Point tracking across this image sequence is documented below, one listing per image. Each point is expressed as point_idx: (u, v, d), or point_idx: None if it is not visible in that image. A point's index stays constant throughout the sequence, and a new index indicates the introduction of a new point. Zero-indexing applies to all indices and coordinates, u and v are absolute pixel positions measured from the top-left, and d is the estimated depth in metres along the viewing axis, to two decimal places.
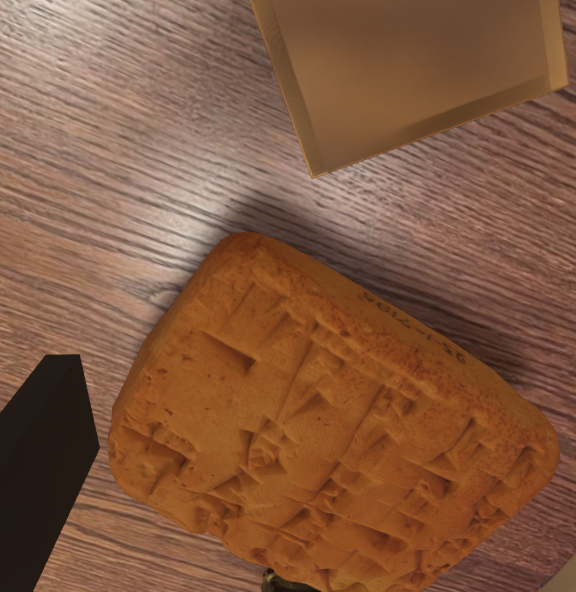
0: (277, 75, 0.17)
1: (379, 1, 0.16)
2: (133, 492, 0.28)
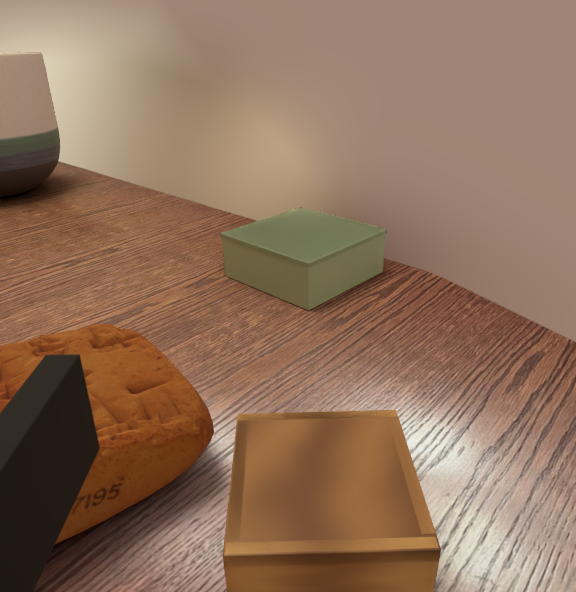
0: (301, 412, 0.29)
1: (322, 459, 0.26)
2: (95, 325, 0.43)
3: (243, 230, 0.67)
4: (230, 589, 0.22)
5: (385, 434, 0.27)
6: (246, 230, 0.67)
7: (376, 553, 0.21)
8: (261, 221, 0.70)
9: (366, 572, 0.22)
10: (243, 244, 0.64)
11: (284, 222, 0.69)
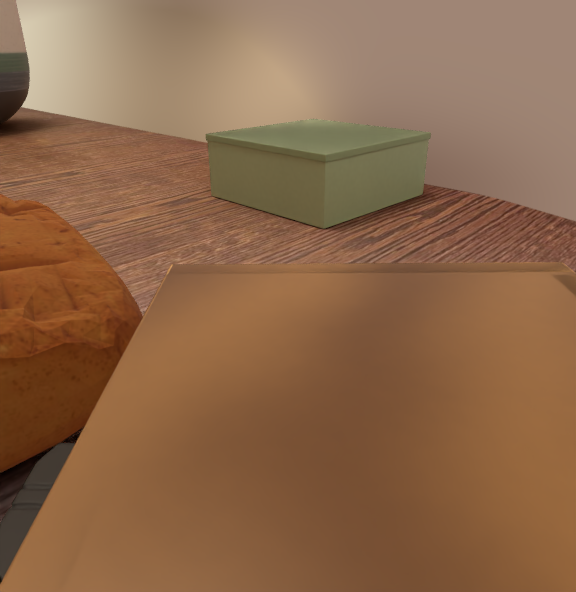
0: None
1: (398, 349, 0.08)
2: None
3: (236, 132, 0.50)
4: None
5: (562, 301, 0.10)
6: (240, 132, 0.50)
7: None
8: (261, 126, 0.53)
9: None
10: (235, 145, 0.47)
11: (292, 127, 0.52)
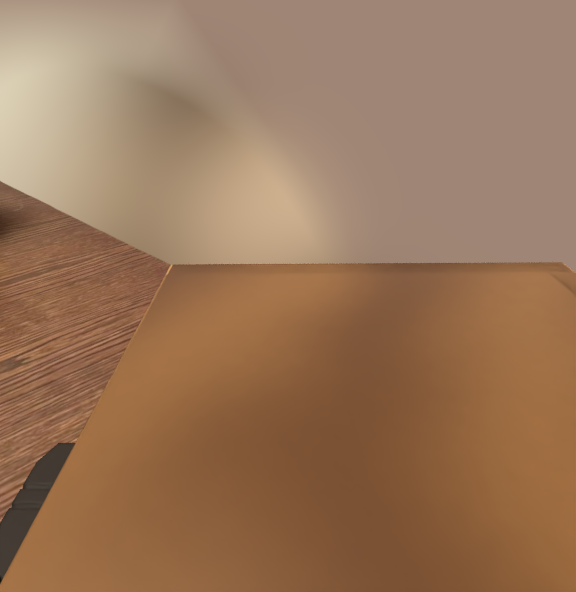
0: None
1: (398, 349, 0.08)
2: None
3: None
4: None
5: (562, 301, 0.10)
6: None
7: None
8: None
9: None
10: None
11: None
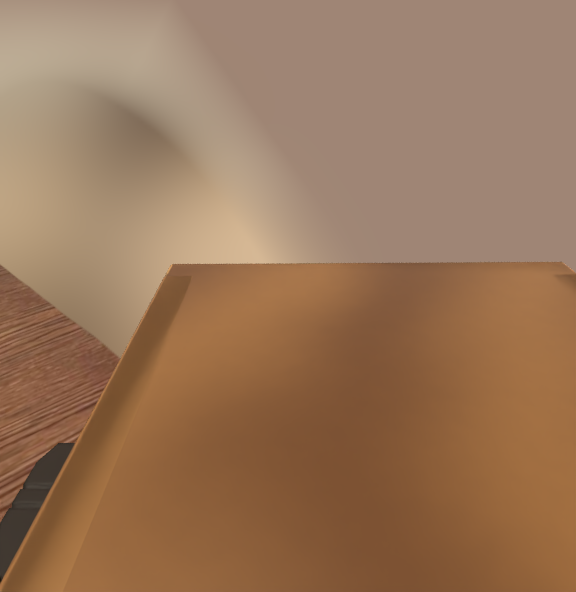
0: (327, 263, 0.12)
1: (398, 348, 0.08)
2: None
3: None
4: None
5: (562, 300, 0.10)
6: None
7: None
8: None
9: None
10: None
11: None
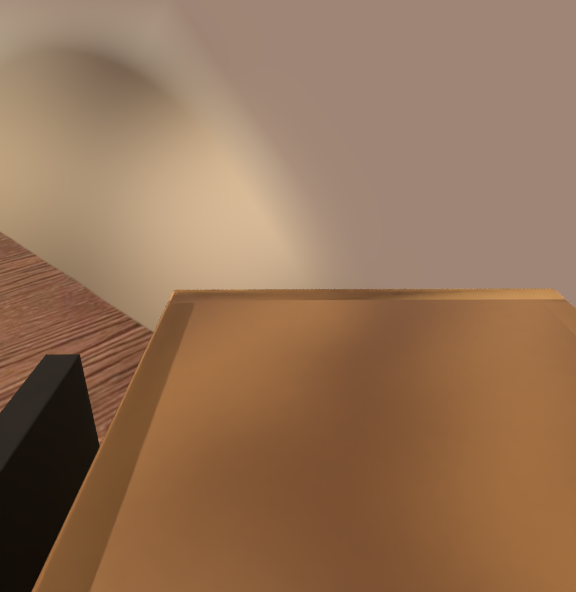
0: (326, 289, 0.12)
1: (392, 382, 0.09)
2: None
3: None
4: None
5: (552, 330, 0.10)
6: None
7: None
8: None
9: None
10: None
11: None
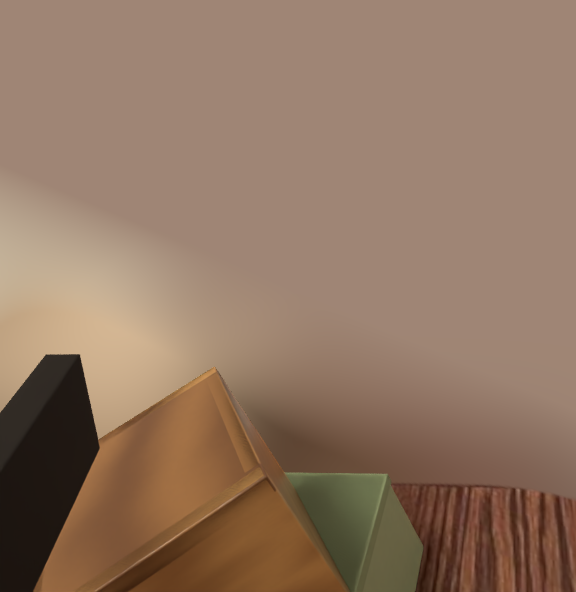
0: (116, 428, 0.24)
1: (136, 462, 0.21)
2: None
3: None
4: None
5: (203, 396, 0.23)
6: None
7: (198, 527, 0.16)
8: None
9: (207, 554, 0.17)
10: None
11: None
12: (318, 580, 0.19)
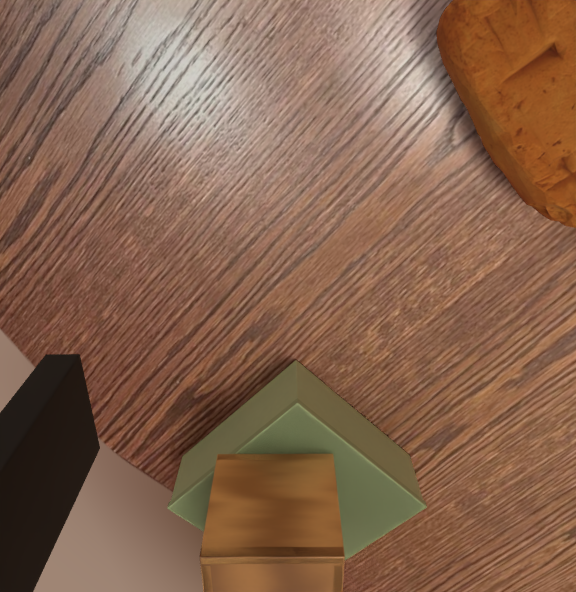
0: None
1: None
2: None
3: (391, 514, 0.43)
4: (338, 527, 0.34)
5: None
6: (386, 514, 0.43)
7: (242, 555, 0.32)
8: (361, 544, 0.44)
9: (249, 539, 0.33)
10: (391, 475, 0.42)
11: None
12: (218, 491, 0.36)
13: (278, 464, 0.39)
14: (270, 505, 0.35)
